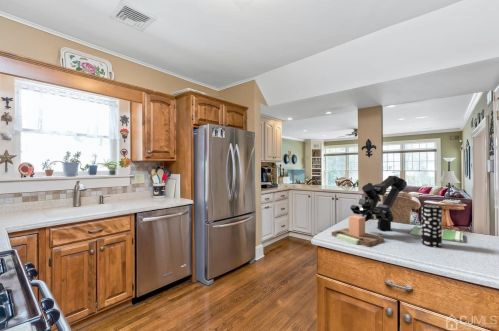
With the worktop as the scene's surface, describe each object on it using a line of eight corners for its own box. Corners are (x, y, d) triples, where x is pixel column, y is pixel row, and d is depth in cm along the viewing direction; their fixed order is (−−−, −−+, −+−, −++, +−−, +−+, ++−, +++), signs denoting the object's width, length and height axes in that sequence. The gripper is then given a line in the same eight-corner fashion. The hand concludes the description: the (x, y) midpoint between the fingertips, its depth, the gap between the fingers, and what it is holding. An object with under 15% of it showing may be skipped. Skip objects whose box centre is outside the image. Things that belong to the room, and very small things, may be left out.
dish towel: (414, 228, 152) (414, 224, 152) (463, 236, 137) (463, 231, 137) (410, 235, 139) (410, 230, 139) (463, 244, 123) (463, 239, 123)
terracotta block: (355, 232, 138) (355, 215, 138) (365, 234, 133) (365, 217, 132) (349, 234, 134) (349, 216, 134) (358, 236, 129) (358, 218, 129)
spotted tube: (437, 242, 125) (437, 205, 124) (444, 248, 117) (445, 208, 116) (418, 241, 127) (419, 204, 127) (424, 246, 119) (425, 207, 119)
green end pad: (340, 237, 135) (340, 233, 135) (359, 243, 125) (359, 239, 125) (336, 238, 133) (336, 234, 133) (356, 244, 123) (356, 240, 123)
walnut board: (347, 231, 147) (347, 227, 147) (383, 241, 128) (383, 237, 128) (331, 235, 139) (331, 232, 139) (367, 246, 120) (367, 242, 120)
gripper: (352, 191, 146) (340, 211, 140) (382, 195, 130) (371, 218, 124) (359, 203, 150) (348, 223, 145) (389, 208, 134) (379, 230, 129)
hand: (360, 223), depth 135 cm, fingers closed
